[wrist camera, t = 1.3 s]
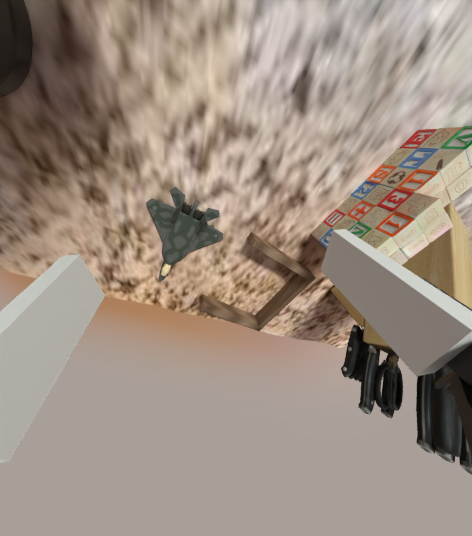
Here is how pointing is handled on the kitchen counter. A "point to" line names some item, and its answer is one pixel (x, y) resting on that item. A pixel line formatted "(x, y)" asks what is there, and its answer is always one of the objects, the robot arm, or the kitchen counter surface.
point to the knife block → (368, 351)
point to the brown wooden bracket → (275, 303)
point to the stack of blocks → (407, 195)
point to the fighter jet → (181, 229)
